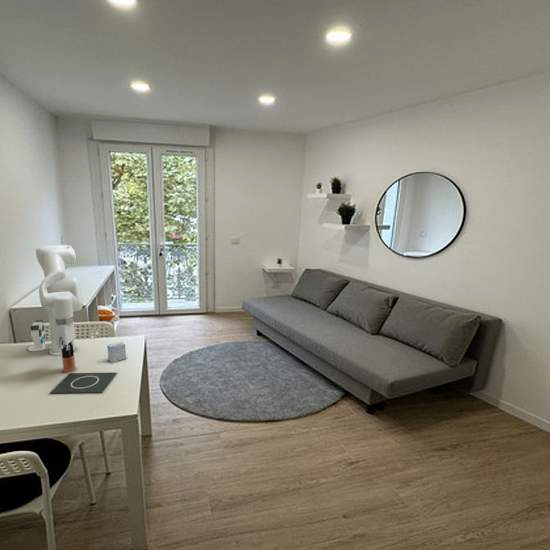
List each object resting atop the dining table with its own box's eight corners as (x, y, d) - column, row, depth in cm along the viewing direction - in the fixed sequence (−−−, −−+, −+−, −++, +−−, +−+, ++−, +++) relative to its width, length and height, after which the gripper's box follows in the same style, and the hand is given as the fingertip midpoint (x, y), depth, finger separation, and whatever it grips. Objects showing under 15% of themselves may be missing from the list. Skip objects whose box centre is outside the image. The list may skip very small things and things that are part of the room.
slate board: (50, 393, 156) (50, 392, 155) (69, 374, 173) (69, 373, 173) (101, 392, 158) (101, 391, 157) (116, 373, 175) (116, 372, 175)
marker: (66, 370, 176) (63, 346, 173) (68, 368, 178) (65, 344, 175) (70, 370, 176) (68, 346, 173) (73, 368, 178) (70, 344, 175)
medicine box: (123, 356, 194) (122, 341, 193) (126, 358, 191) (125, 343, 190) (108, 360, 189) (107, 345, 187) (111, 363, 186) (110, 347, 184)
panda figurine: (48, 350, 199) (45, 325, 196) (24, 352, 195) (21, 327, 192) (53, 342, 210) (50, 318, 207) (30, 344, 206) (27, 320, 203)
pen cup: (61, 373, 174) (60, 358, 172) (66, 368, 179) (65, 353, 178) (72, 372, 175) (71, 357, 173) (77, 368, 180) (76, 353, 178)
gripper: (65, 315, 179) (68, 348, 183) (47, 326, 163) (51, 363, 167) (80, 315, 180) (83, 348, 184) (64, 326, 164) (68, 363, 168)
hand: (68, 355), depth 175 cm, fingers open, 3 cm apart
